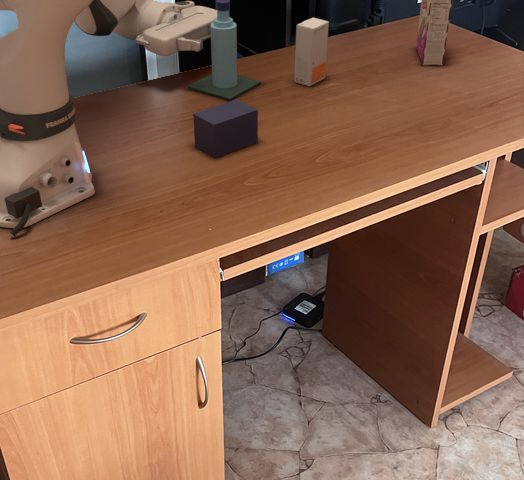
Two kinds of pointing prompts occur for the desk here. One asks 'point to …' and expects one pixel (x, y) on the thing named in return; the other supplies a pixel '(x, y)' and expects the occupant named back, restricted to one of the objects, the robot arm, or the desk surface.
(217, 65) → the plastic bottle
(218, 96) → the rubber mat
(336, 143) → the desk surface
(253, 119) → the navy block
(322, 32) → the cosmetic box
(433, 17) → the candy bar box
